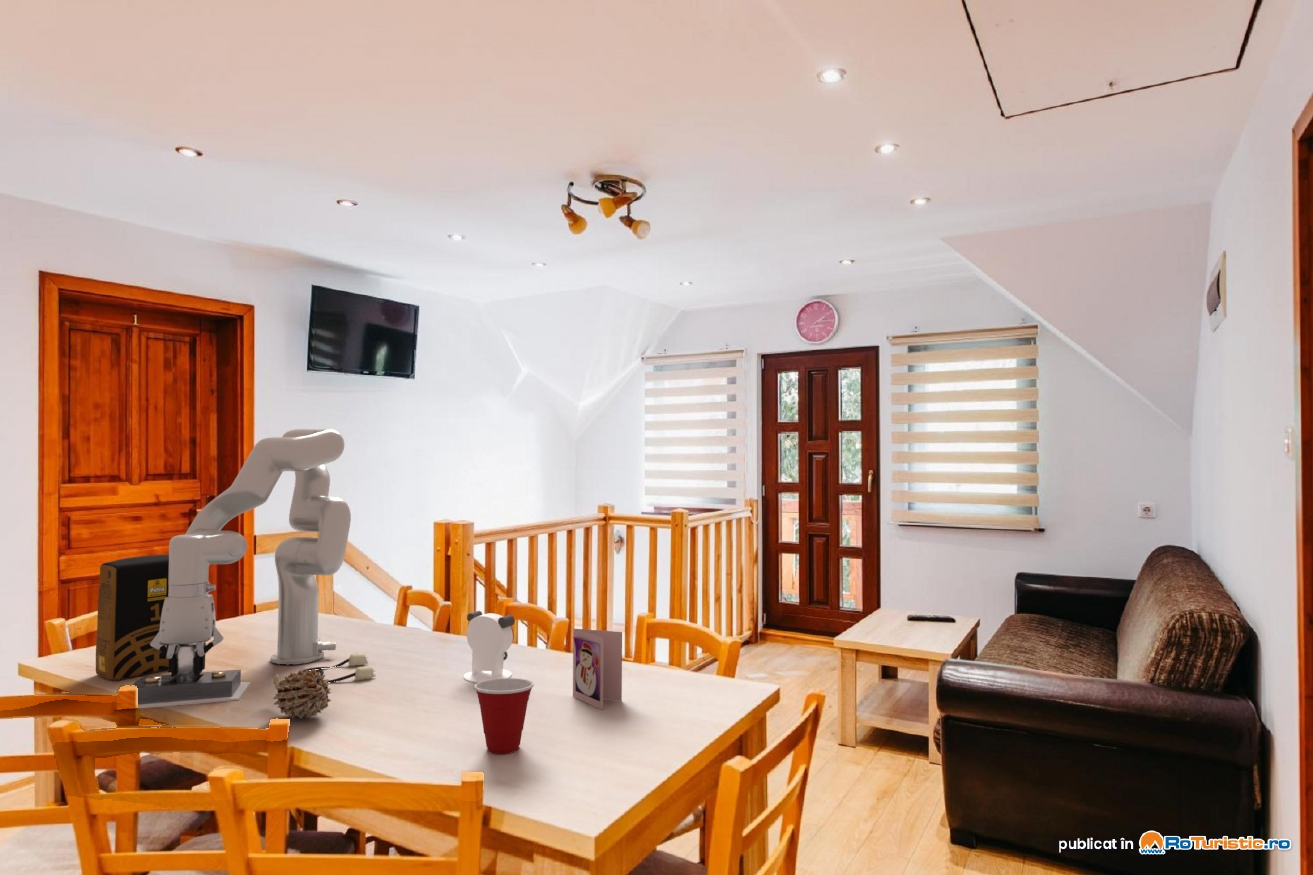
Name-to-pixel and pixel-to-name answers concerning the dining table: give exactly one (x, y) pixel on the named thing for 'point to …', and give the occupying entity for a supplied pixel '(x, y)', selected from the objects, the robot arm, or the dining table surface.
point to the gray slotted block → (187, 687)
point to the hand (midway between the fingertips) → (186, 673)
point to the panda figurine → (489, 645)
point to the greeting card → (597, 666)
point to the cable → (353, 660)
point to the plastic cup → (503, 712)
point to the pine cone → (302, 693)
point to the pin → (186, 662)
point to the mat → (235, 696)
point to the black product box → (131, 616)
